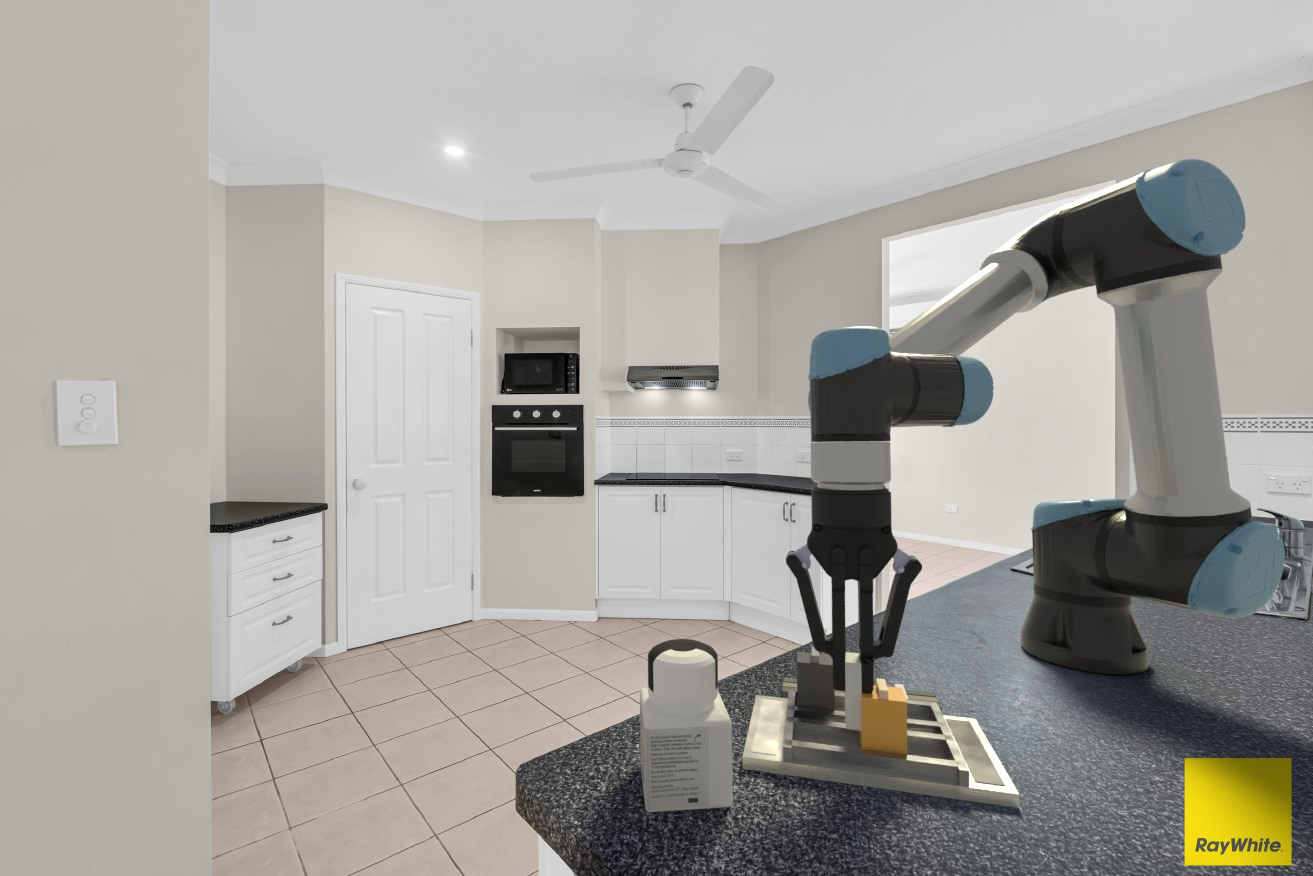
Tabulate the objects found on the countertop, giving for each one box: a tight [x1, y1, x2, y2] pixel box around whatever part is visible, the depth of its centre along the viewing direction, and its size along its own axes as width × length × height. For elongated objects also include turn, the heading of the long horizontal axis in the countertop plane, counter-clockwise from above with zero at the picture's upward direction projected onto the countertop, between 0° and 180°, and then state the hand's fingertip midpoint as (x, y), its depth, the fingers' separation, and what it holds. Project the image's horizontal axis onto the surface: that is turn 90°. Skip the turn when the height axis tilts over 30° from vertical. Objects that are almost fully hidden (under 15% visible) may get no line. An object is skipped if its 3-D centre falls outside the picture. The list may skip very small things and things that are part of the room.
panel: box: [742, 687, 1020, 809], centre depth 60 cm, size 24×14×3 cm, turn 75°
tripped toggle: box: [860, 678, 908, 755], centre depth 56 cm, size 4×3×7 cm
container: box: [639, 638, 733, 813], centre depth 54 cm, size 8×8×13 cm
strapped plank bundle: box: [781, 677, 943, 713], centre depth 70 cm, size 18×5×2 cm, turn 75°
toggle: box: [796, 646, 835, 710], centre depth 65 cm, size 4×3×7 cm
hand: (853, 723), depth 57 cm, fingers closed
